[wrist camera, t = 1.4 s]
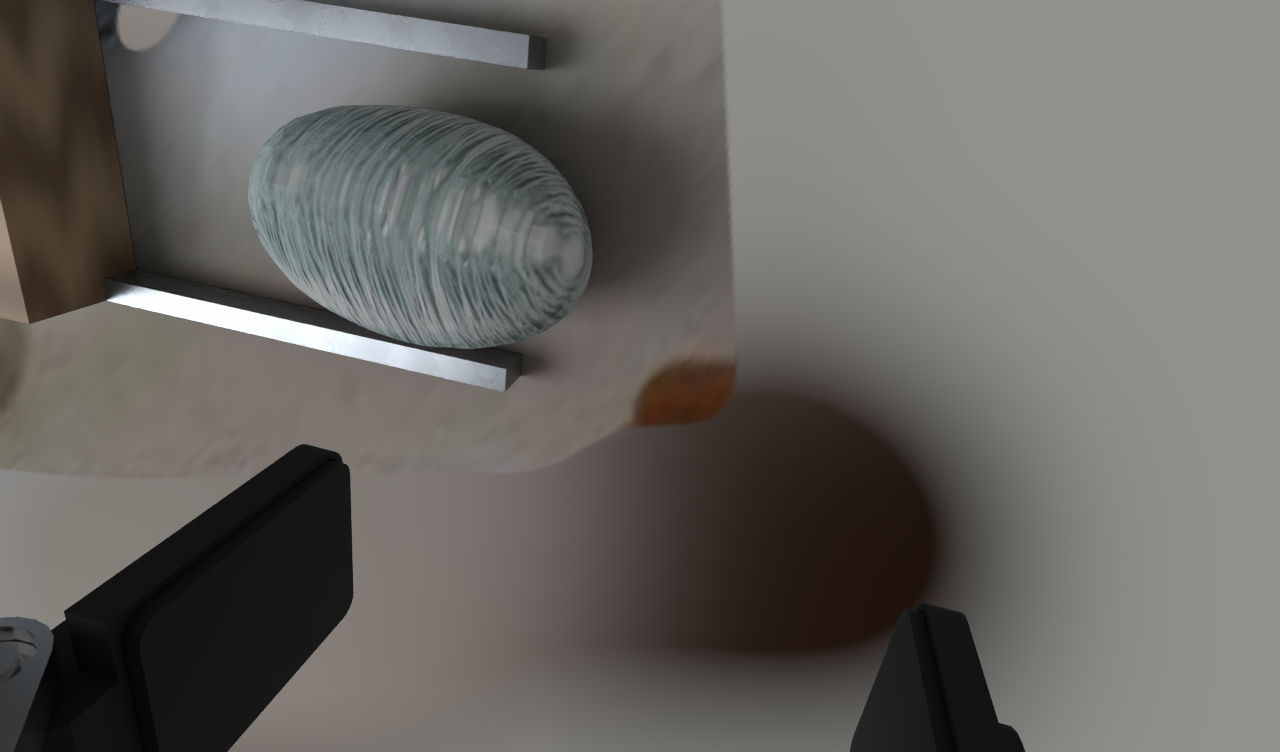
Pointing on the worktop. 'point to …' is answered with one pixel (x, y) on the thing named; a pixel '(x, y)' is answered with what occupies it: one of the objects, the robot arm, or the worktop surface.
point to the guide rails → (282, 8)
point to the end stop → (56, 163)
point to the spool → (421, 224)
